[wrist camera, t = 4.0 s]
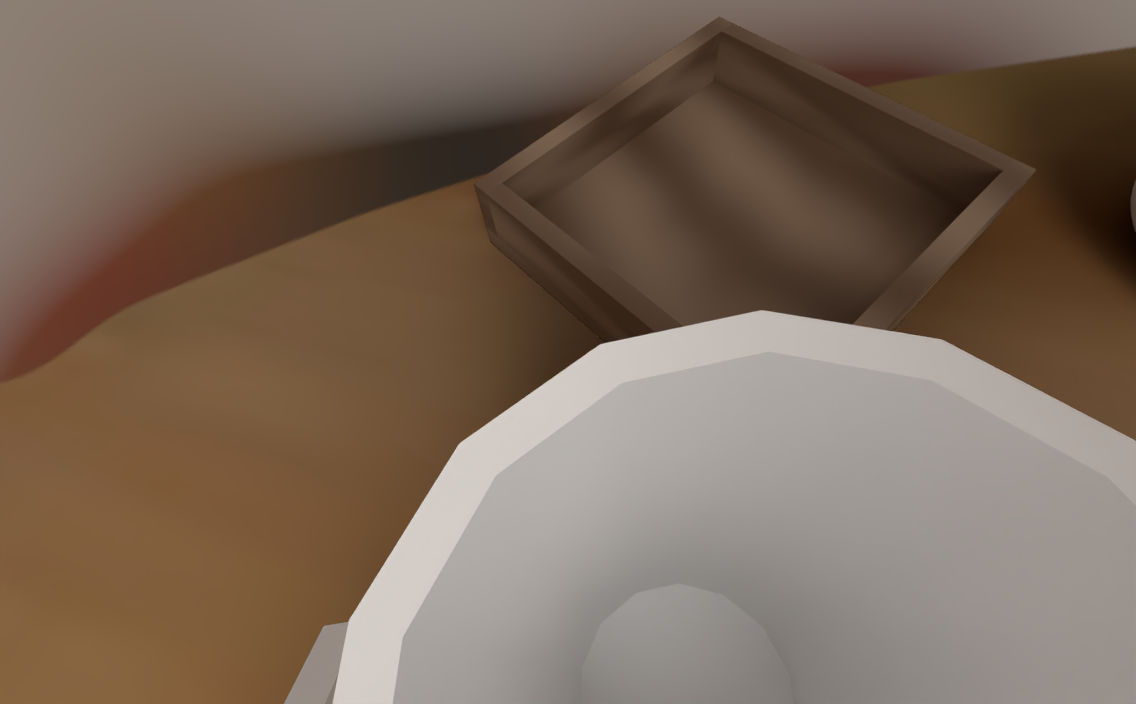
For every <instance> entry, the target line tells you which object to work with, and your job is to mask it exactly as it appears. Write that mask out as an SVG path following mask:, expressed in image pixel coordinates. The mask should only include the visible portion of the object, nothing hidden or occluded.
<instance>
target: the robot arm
mask: <svg viewBox="0 0 1136 704" xmlns="http://www.w3.org/2000/svg"><path fill="white" fill-rule="evenodd" d="M347 627H348V622H345V623H339V624H333V625H326V626H323V628H322V630H321V632H320V634H319V636H318V638H317V640H316V642H315V644H314V646H313V648H312V650H311V652H310V654H309V656H308V658H307V660H306V662H305V664H304V666H303V668H302V670H301V671H300V673H299V675H298V677H297V679H296V681H295V683H294V685H293V687H292V689H291V691H290V693H289V695H288V697H287V699H286V701H285V703H284V704H333V699H334V694H335V688H336V683H337V678H338V673H339V668H340V663H341V658H342V653H343V648H344V643H345V638H346V632H347Z"/></svg>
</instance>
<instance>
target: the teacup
mask: <svg viewBox="0 0 1136 704" xmlns="http://www.w3.org/2000/svg"><path fill="white" fill-rule="evenodd" d="M1131 217H1132V221H1133V226H1134V230H1135V232H1136V180H1135V183H1134V186H1133V189H1132V195H1131Z"/></svg>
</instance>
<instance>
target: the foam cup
mask: <svg viewBox="0 0 1136 704" xmlns="http://www.w3.org/2000/svg"><path fill="white" fill-rule="evenodd" d="M333 704H1136V441H1135V440H1133V439H1131V438H1129V437H1127V436H1126V435H1124V434H1122V433H1120V432H1118V431H1116V430H1114V429H1112V428H1110V427H1108V426H1106V425H1104V424H1103V423H1101V422H1099V421H1097V420H1095V419H1093V418H1091V417H1089V416H1087V415H1085V414H1083V413H1082V412H1080V411H1078V410H1076V409H1074V408H1072V407H1070V406H1068V405H1066V404H1064V403H1062V402H1060V401H1059V400H1057V399H1055V398H1053V397H1051V396H1049V395H1047V394H1045V393H1043V392H1041V391H1039V390H1038V389H1036V388H1034V387H1032V386H1030V385H1028V384H1026V383H1024V382H1022V381H1020V380H1018V379H1017V378H1015V377H1013V376H1011V375H1009V374H1007V373H1005V372H1003V371H1001V370H999V369H997V368H995V367H994V366H992V365H990V364H988V363H986V362H984V361H982V360H980V359H978V358H976V357H974V356H973V355H971V354H969V353H967V352H965V351H963V350H961V349H959V348H957V347H955V346H953V345H952V344H950V343H948V342H946V341H944V340H942V339H936V338H930V337H924V336H918V335H911V334H905V333H899V332H893V331H887V330H881V329H875V328H868V327H862V326H856V325H850V324H844V323H838V322H832V321H825V320H819V319H813V318H807V317H801V316H795V315H789V314H783V313H776V312H770V311H764V310H760V311H755V312H750V313H746V314H741V315H736V316H731V317H727V318H722V319H717V320H713V321H708V322H703V323H698V324H694V325H689V326H684V327H679V328H675V329H670V330H665V331H661V332H656V333H651V334H646V335H642V336H637V337H632V338H627V339H623V340H618V341H613V342H609V343H604V344H600V345H598V346H597V347H596V348H594V349H593V350H591V351H590V352H588V353H587V354H586V355H584V356H583V357H581V358H580V359H579V360H577V361H576V362H574V363H573V364H571V365H570V366H569V367H567V368H566V369H564V370H563V371H562V372H560V373H559V374H557V375H556V376H554V377H553V378H552V379H550V380H549V381H547V382H546V383H544V384H543V385H542V386H540V387H539V388H537V389H536V390H535V391H533V392H532V393H530V394H529V395H527V396H526V397H525V398H523V399H522V400H520V401H519V402H518V403H516V404H515V405H513V406H512V407H510V408H509V409H508V410H506V411H505V412H503V413H502V414H500V415H499V416H498V417H496V418H495V419H493V420H492V421H491V422H489V423H488V424H486V425H485V426H483V427H482V428H481V429H479V430H478V431H476V432H475V433H473V434H472V435H471V436H469V437H468V438H466V439H465V440H464V441H462V442H461V443H459V445H458V446H457V448H456V450H455V451H454V453H453V455H452V456H451V458H450V459H449V461H448V463H447V464H446V466H445V467H444V469H443V471H442V472H441V474H440V475H439V477H438V479H437V480H436V482H435V483H434V485H433V487H432V488H431V490H430V491H429V493H428V495H427V496H426V498H425V499H424V501H423V503H422V504H421V506H420V507H419V509H418V511H417V512H416V514H415V515H414V517H413V519H412V520H411V522H410V523H409V525H408V527H407V528H406V530H405V531H404V533H403V535H402V536H401V538H400V539H399V541H398V543H397V544H396V546H395V547H394V549H393V551H392V552H391V554H390V555H389V557H388V559H387V560H386V562H385V564H384V565H383V567H382V568H381V570H380V572H379V573H378V575H377V576H376V578H375V580H374V581H373V583H372V584H371V586H370V588H369V589H368V591H367V592H366V594H365V596H364V597H363V599H362V600H361V602H360V604H359V605H358V607H357V608H356V610H355V612H354V613H353V615H352V616H351V618H350V620H349V622H348V627H347V632H346V638H345V643H344V648H343V653H342V658H341V663H340V668H339V673H338V678H337V683H336V688H335V694H334V699H333Z"/></svg>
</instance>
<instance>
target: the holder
mask: <svg viewBox="0 0 1136 704" xmlns="http://www.w3.org/2000/svg"><path fill="white" fill-rule="evenodd" d="M1035 171H1036V169H1034V168H1032V167H1030V166H1028V165H1026V164H1024V163H1022V162H1020V161H1018V160H1016V159H1013V158H1011V157H1009V156H1007V155H1005V154H1003V153H1001V152H999V151H997V150H995V149H993V148H991V147H989V146H986V145H984V144H982V143H980V142H978V141H976V140H974V139H972V138H970V137H968V136H966V135H964V134H962V133H959V132H957V131H955V130H953V129H951V128H949V127H947V126H945V125H943V124H941V123H939V122H937V121H935V120H932V119H930V118H928V117H926V116H924V115H922V114H920V113H918V112H916V111H914V110H912V109H910V108H908V107H905V106H903V105H901V104H899V103H897V102H895V101H893V100H891V99H889V98H887V97H885V96H883V95H881V94H878V93H876V92H874V91H872V90H870V89H868V88H866V87H864V86H862V85H860V84H858V83H856V82H854V81H851V80H849V79H847V78H845V77H843V76H841V75H839V74H837V73H835V72H833V71H831V70H829V69H827V68H824V67H822V66H820V65H818V64H816V63H814V62H812V61H810V60H808V59H806V58H804V57H801V56H800V55H797V54H795V53H793V52H791V51H789V50H787V49H785V48H783V47H781V46H779V45H777V44H775V43H772V42H771V41H768V40H766V39H764V38H762V37H760V36H758V35H756V34H754V33H752V32H750V31H748V30H745V29H744V28H741V27H739V26H737V25H735V24H733V23H731V22H729V21H727V20H725V19H723V18H720V17H718V18H717V19H715V20H714V21H712V22H711V23H709V24H708V25H706V26H705V27H703V28H702V29H700V30H699V31H698V32H696V33H695V34H693V35H692V36H690V37H689V38H687V39H686V40H684V41H683V42H681V43H680V44H679V45H677V46H676V47H674V48H673V49H671V50H670V51H668V52H667V53H665V54H664V55H662V56H661V57H659V58H658V59H657V60H655V61H654V62H652V63H651V64H649V65H648V66H646V67H645V68H643V69H642V70H640V71H639V72H637V73H636V74H634V75H633V76H632V77H630V78H629V79H627V80H625V81H624V82H623V83H621V84H620V85H618V86H617V87H615V88H614V89H613V90H611V91H609V92H608V93H606V94H605V95H604V96H602V97H600V98H599V99H598V100H596V101H595V102H593V103H592V104H590V105H589V106H587V107H586V108H584V109H583V110H581V111H580V112H579V113H577V114H576V115H574V116H573V117H571V118H570V119H568V120H567V121H565V122H564V123H562V124H561V125H559V126H558V127H556V128H555V129H553V130H552V131H550V132H549V133H548V134H546V135H545V136H543V137H542V138H540V139H539V140H537V141H536V142H534V143H533V144H531V145H530V146H528V147H527V148H525V149H524V150H523V151H521V152H520V153H518V154H517V155H515V156H514V157H512V158H511V159H509V160H508V161H506V162H505V163H503V164H502V165H500V166H499V167H497V168H496V169H495V170H493V171H492V172H490V173H489V174H487V175H486V176H484V177H483V178H481V179H480V180H478V181H477V182H475V183H474V186H475V190H476V193H477V196H478V200H479V203H480V207H481V210H482V214H483V217H484V220H485V224H486V227H487V231H488V234H489V237H490V241H491V243H492V244H493V245H494V246H496V247H497V248H498V249H499V250H500V251H501V252H503V253H504V254H505V255H506V256H507V257H508V258H509V259H511V260H512V261H513V262H514V263H515V264H516V265H517V266H519V267H520V268H521V269H522V270H523V271H524V272H526V273H527V274H528V275H529V276H530V277H531V278H532V279H534V280H535V281H536V282H537V283H538V284H539V285H540V286H542V287H543V288H544V289H545V290H546V291H547V292H548V293H550V294H551V295H552V296H553V297H554V298H555V299H557V300H558V301H559V302H560V303H561V304H562V305H563V306H565V307H566V308H567V309H568V310H569V311H570V312H571V313H573V314H574V315H575V316H576V317H577V318H578V319H579V320H581V321H582V322H583V323H584V324H585V325H586V326H588V327H589V328H590V329H591V330H592V331H593V332H594V333H596V334H597V335H598V336H599V337H600V338H601V339H602V340H604V341H605V342H606V343H609V342H613V341H618V340H623V339H627V338H632V337H637V336H642V335H646V334H651V333H656V332H661V331H665V330H670V329H675V328H679V327H684V326H689V325H694V324H698V323H703V322H708V321H713V320H717V319H722V318H727V317H731V316H736V315H741V314H746V313H750V312H755V311H760V310H764V311H770V312H776V313H783V314H789V315H795V316H801V317H807V318H813V319H819V320H825V321H832V322H838V323H844V324H850V325H856V326H862V327H868V328H875V329H881V330H887V331H891V330H892V329H893V328H894V327H895V326H896V325H897V324H898V323H899V322H900V321H901V320H902V319H903V317H904V316H905V315H906V314H907V313H908V312H909V311H910V310H911V309H912V308H913V307H914V306H915V305H916V304H917V303H918V302H919V301H920V299H921V298H922V297H923V296H924V295H925V294H926V293H927V292H928V291H929V290H930V289H931V288H932V287H933V286H934V285H935V284H936V282H937V281H938V280H939V279H940V278H941V277H942V276H943V275H944V274H945V273H946V272H947V271H948V270H949V269H950V268H951V267H952V266H953V264H954V263H955V262H956V261H957V260H958V259H959V258H960V257H961V256H962V255H963V254H964V253H965V252H966V251H967V250H968V249H969V247H970V246H971V245H972V244H973V243H974V242H975V241H976V240H977V239H978V238H979V237H980V236H981V235H982V234H983V232H984V231H985V230H986V229H987V228H988V226H989V225H990V224H991V223H992V222H993V221H994V219H995V218H996V217H997V216H998V215H999V213H1000V212H1001V211H1002V210H1003V209H1004V208H1005V206H1006V205H1007V204H1008V203H1009V202H1010V201H1011V199H1012V198H1013V197H1014V196H1015V195H1016V193H1017V192H1018V191H1019V190H1020V189H1021V188H1022V186H1023V185H1024V184H1025V183H1026V182H1027V180H1028V179H1029V178H1030V177H1031V176H1032V175H1033V173H1034V172H1035Z"/></svg>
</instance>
